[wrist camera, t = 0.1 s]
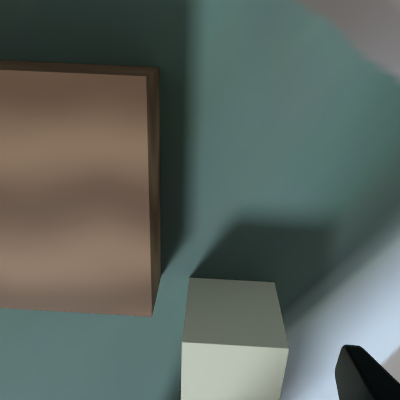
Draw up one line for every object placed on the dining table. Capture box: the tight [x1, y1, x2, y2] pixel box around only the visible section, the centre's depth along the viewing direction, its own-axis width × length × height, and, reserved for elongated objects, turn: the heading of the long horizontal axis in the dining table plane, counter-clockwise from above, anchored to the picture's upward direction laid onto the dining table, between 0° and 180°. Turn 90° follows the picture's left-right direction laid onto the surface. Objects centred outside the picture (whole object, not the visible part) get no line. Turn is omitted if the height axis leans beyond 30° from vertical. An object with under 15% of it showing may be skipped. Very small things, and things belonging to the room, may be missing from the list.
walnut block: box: [0, 60, 161, 317], centre depth 22 cm, size 14×14×4 cm
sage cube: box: [181, 278, 289, 400], centre depth 25 cm, size 6×6×6 cm
